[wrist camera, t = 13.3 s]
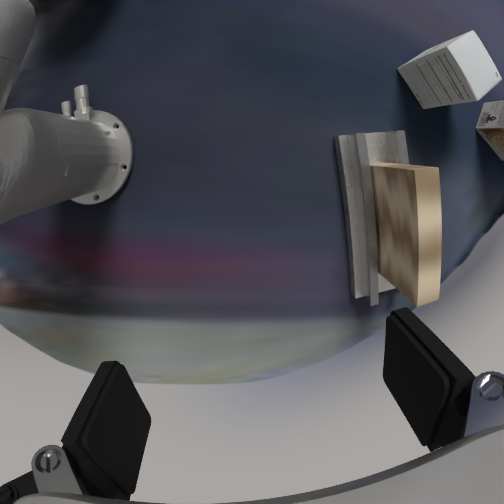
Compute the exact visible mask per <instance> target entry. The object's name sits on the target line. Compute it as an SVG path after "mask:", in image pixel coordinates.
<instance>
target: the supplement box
mask: <svg viewBox="0 0 504 504" xmlns="http://www.w3.org/2000/svg"><path fill="white" fill-rule="evenodd" d="M397 70H398V71H399V73H400V74H401V76H402V77H403V79H404V80H405V82H406V83H407V85H408V86H409V88H410V89H411V91H412V92H413V94H414V95H415V97H416V98H417V100H418V101H419V103H420V105H421V106H422V108H423V109H428V108H434V107H439V106H446V105H452V104H459V103H466V102H473V101H478V100H480V99H481V98H482V97H483V96H484V95H485V94H486V93H487V92H488V91H490V90H491V89H492V88H493V87H494V86H495V85H496V84H497V83H498V82H500V81H501V80H502V78H501V76H500V74H499V72H498V70H497V68H496V66H495V64H494V63H493V61H492V59H491V57H490V56H489V54H488V52H487V51H486V49H485V47H484V46H483V44H482V42H481V41H480V39H479V38H478V36H477V35H476V33H475V32H474V31H473V30H472V31H470V32H467V33H465V34H463V35H460V36H458V37H456V38H453V39H451V40H448V41H446V42H444V43H441V44H439V45H437V46H434V47H432V48H430V49H428V50H426V51H424V52H422V53H421V54H420V55H418V56H417V57H415V58H413V59H412V60H410V61H409V62H407V63H405V64H404V65H402V66H400V67H399V68H397Z"/></svg>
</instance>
